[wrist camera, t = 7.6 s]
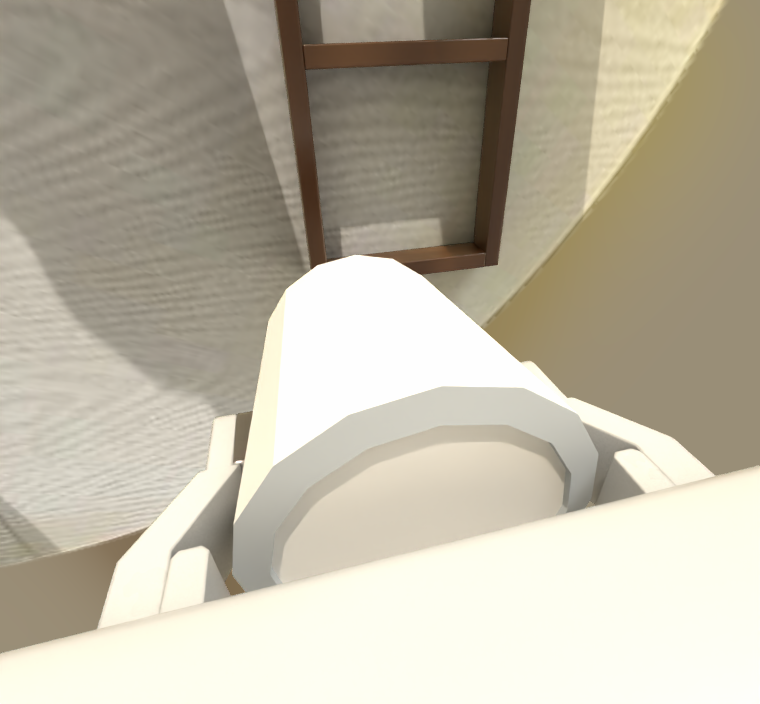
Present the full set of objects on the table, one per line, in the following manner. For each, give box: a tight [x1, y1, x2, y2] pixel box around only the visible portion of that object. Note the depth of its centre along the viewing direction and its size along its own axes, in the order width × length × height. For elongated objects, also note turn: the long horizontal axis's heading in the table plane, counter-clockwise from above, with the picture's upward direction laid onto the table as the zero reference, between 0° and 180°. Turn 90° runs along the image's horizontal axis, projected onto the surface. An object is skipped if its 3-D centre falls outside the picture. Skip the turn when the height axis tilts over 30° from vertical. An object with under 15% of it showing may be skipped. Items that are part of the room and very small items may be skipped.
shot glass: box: [232, 255, 599, 592], centre depth 11 cm, size 7×7×7 cm
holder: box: [274, 0, 531, 275], centre depth 20 cm, size 11×22×2 cm, turn 2°
